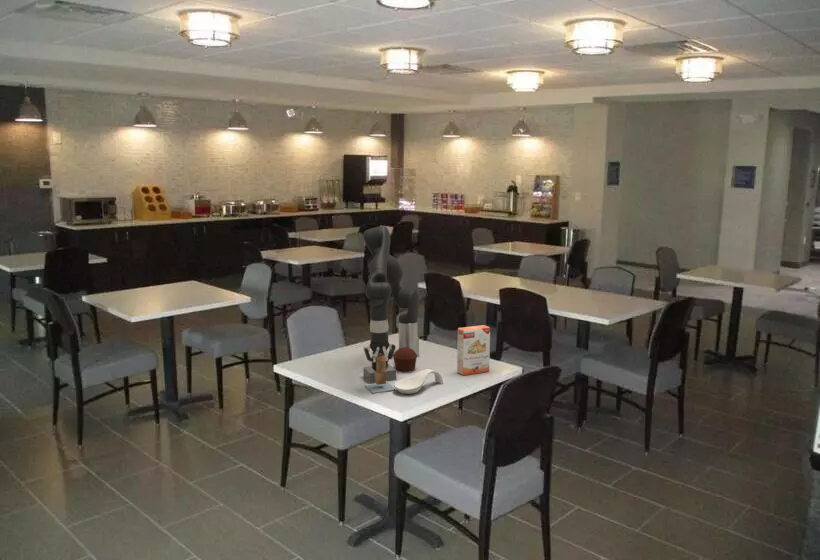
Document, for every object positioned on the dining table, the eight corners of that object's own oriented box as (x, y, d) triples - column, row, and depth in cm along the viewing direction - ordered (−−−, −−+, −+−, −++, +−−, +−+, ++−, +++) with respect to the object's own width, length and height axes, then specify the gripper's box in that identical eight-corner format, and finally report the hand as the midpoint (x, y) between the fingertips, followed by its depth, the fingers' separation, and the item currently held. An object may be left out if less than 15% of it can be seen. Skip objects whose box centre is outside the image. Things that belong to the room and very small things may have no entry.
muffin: (392, 366, 307) (392, 345, 305) (415, 365, 308) (415, 344, 306) (394, 373, 295) (393, 352, 293) (418, 372, 296) (418, 351, 294)
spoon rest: (407, 399, 263) (406, 382, 262) (388, 392, 272) (388, 375, 271) (448, 386, 278) (448, 369, 277) (429, 379, 287) (429, 363, 286)
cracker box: (463, 376, 290) (463, 330, 287) (456, 372, 296) (456, 327, 292) (490, 371, 296) (490, 327, 293) (483, 368, 302) (483, 324, 298)
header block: (388, 373, 296) (388, 363, 295) (396, 379, 286) (396, 370, 286) (363, 376, 291) (363, 366, 291) (370, 383, 282) (369, 373, 281)
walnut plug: (383, 380, 278) (382, 353, 276) (386, 383, 274) (385, 356, 272) (374, 382, 276) (373, 354, 274) (377, 384, 273) (376, 357, 270)
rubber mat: (387, 383, 282) (387, 382, 282) (395, 390, 273) (395, 389, 272) (365, 386, 278) (365, 385, 278) (372, 393, 269) (372, 392, 269)
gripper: (392, 326, 277) (393, 365, 280) (360, 329, 272) (361, 369, 275) (398, 330, 270) (398, 370, 273) (365, 333, 265) (366, 374, 268)
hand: (379, 369), depth 274 cm, fingers closed on walnut plug, 4 cm apart
